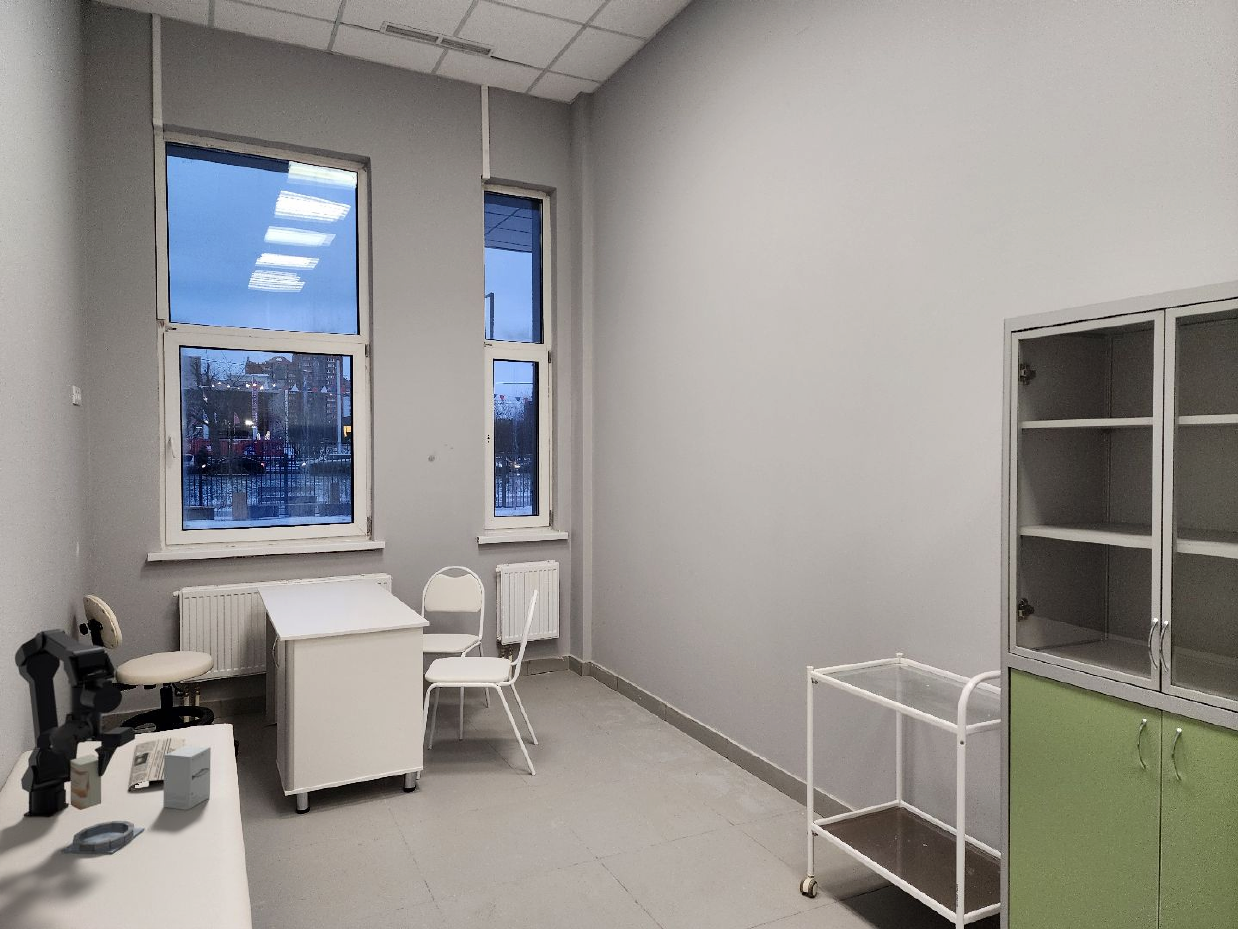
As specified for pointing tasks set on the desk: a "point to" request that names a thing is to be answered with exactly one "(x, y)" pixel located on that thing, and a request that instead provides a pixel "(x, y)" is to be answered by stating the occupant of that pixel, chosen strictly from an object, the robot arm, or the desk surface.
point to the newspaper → (151, 759)
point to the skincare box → (85, 782)
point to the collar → (103, 838)
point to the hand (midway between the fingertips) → (86, 776)
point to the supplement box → (186, 777)
